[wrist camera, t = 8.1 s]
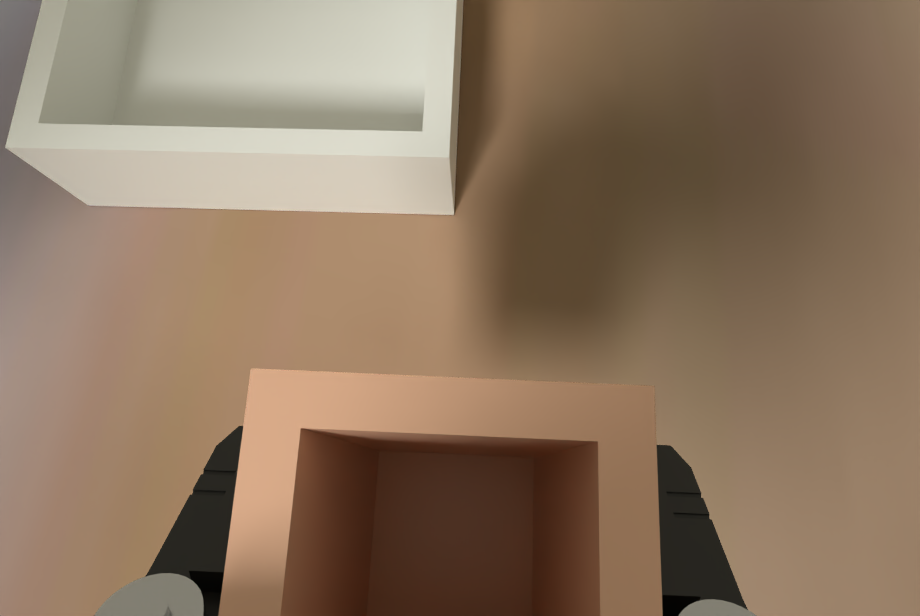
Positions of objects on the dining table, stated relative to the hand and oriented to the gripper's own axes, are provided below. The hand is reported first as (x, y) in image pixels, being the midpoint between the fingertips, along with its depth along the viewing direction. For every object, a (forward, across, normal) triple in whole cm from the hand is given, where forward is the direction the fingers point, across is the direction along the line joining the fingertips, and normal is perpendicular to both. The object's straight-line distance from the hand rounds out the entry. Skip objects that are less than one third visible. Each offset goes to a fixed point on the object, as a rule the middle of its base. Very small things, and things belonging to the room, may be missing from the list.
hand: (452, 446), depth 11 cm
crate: (+22, +9, -3) cm, 24 cm away
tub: (+2, 0, +4) cm, 5 cm away
